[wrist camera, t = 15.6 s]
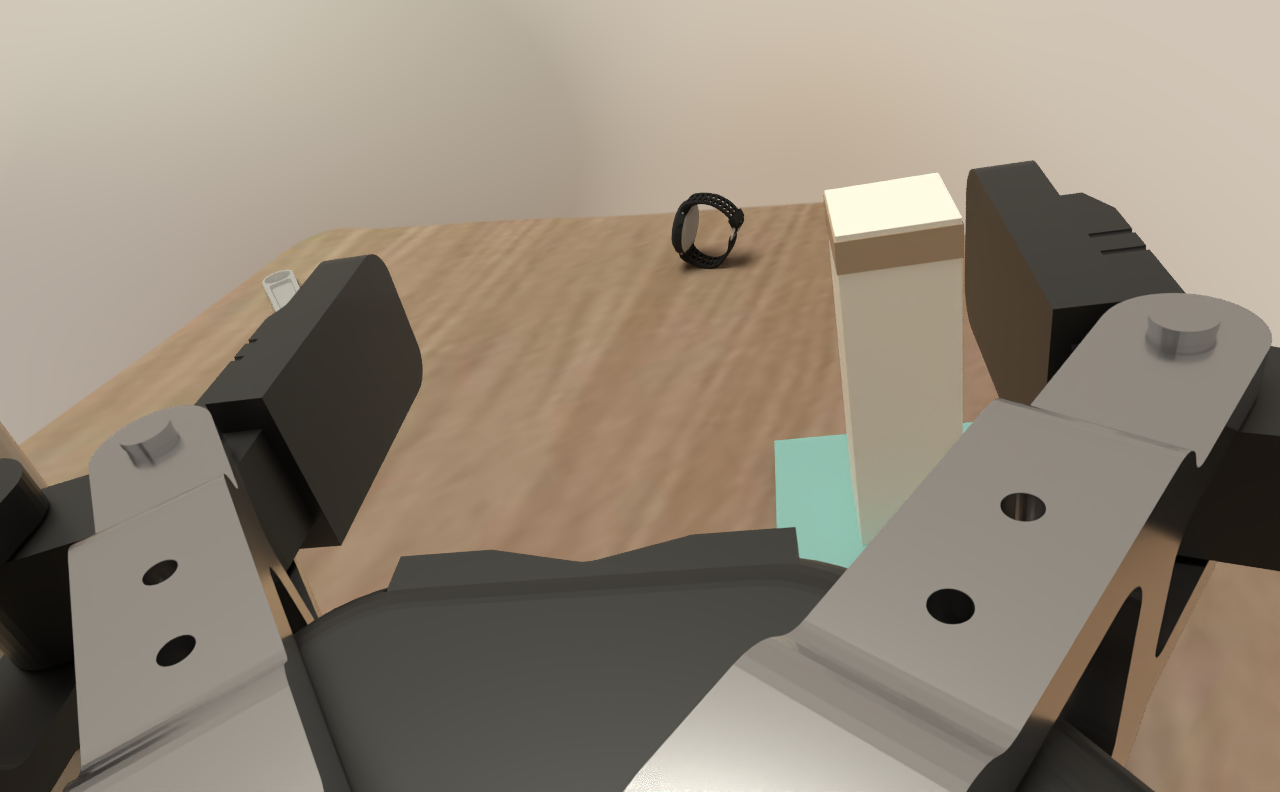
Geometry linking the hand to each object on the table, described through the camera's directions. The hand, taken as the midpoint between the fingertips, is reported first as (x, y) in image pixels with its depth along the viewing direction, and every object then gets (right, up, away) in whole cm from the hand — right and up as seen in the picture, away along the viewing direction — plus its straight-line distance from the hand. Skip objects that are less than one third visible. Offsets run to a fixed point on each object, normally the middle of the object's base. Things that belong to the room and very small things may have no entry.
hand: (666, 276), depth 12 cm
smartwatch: (+5, +7, +50) cm, 51 cm away
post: (+11, -6, +26) cm, 29 cm away
